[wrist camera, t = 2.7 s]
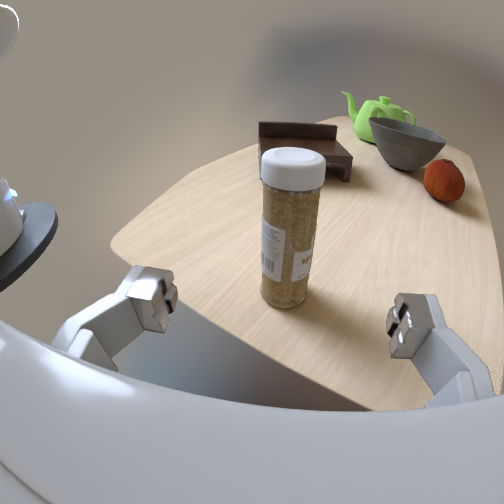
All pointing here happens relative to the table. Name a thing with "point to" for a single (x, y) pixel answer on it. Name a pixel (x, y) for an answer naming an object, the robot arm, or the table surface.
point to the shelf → (306, 142)
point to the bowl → (405, 143)
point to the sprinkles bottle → (289, 222)
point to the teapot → (374, 115)
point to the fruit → (444, 180)
